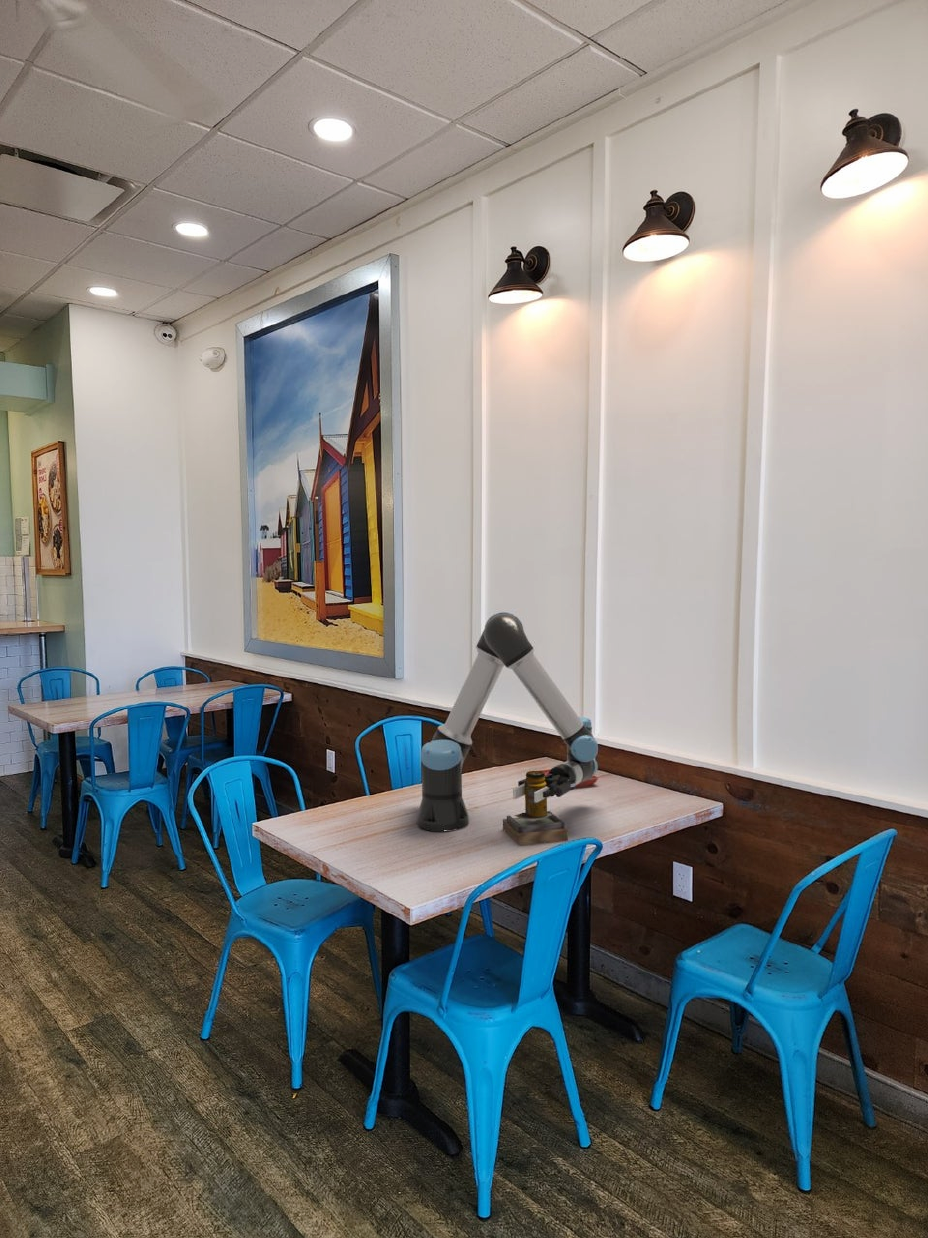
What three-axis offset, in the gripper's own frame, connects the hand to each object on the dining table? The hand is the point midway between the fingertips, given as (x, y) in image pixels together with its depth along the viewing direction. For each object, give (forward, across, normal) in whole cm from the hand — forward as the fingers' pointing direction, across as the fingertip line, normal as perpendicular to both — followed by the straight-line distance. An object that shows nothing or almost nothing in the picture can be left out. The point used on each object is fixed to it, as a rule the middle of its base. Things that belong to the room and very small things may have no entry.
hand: (524, 795), depth 218 cm
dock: (-5, 0, -12) cm, 13 cm away
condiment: (-5, 0, -7) cm, 9 cm away
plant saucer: (-57, +18, -13) cm, 61 cm away
